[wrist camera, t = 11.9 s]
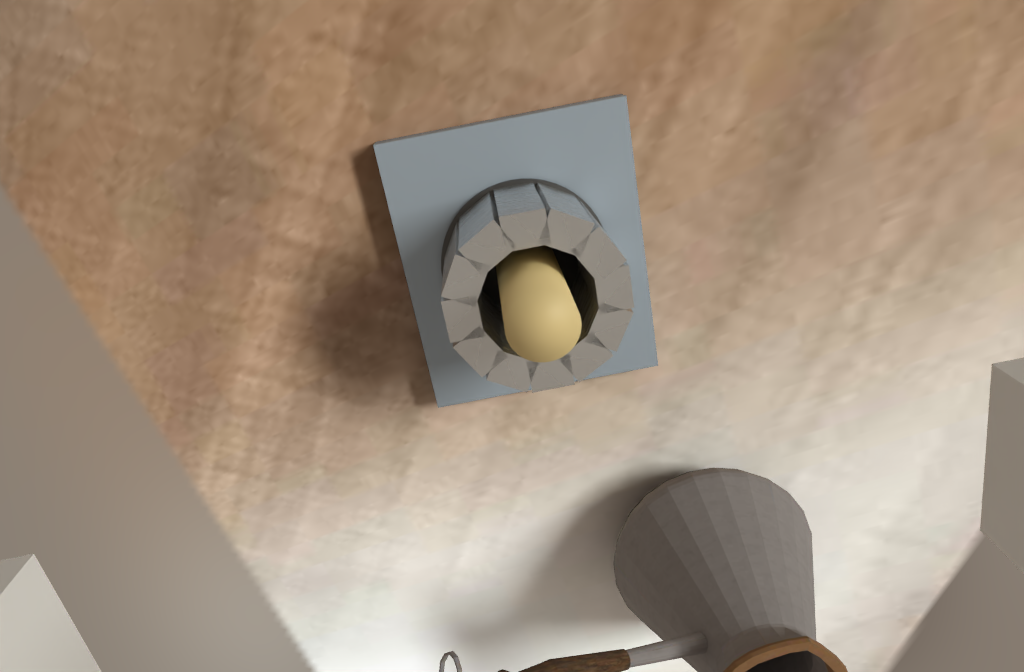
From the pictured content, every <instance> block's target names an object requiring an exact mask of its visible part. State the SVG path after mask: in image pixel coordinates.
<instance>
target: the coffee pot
mask: <svg viewBox="0 0 1024 672" xmlns="http://www.w3.org/2000/svg"><path fill="white" fill-rule="evenodd" d="M614 570H615V577H616V585H617V587H618V589H619V591H620V593H621V595H622V597H623V599H624V601H625V603H626V605H627V606H628V608H629V609H630V610H631V611H632V612H633V613H634V614H635V615H636V616H637V617H638V618H639V619H640V620H641V621H642V622H643V623H645V624H646V625H647V626H648V627H649V628H650V629H651V630H652V631H653V632H654V633H656V634H657V635H658V636H659V637H660V638H661V639H662V640H663V641H661V642H657V643H653V644H649V645H645V646H640V647H636V648H632V649H628V650H624V649H620V650H613V651H606V652H599V653H592V654H584V655H577V656H570V657H563V658H556V659H549V660H547V661H545V662H542V663H540V664H537V665H535V666H532V667H530V668H527V669H524V670H522V671H519V672H621V671H624V670H628V669H629V668H630V667H635V666H640V665H646V664H651V663H656V662H661V661H667V660H672V659H677V658H683V659H684V660H685V661H686V662H687V663H689V664H690V665H691V666H692V667H693V668H694V669H695V670H696V671H697V672H847V669H846V666H845V665H844V664H843V663H842V662H841V661H840V659H839V658H838V657H837V656H836V655H835V654H833V653H832V652H831V651H829V650H828V649H827V648H826V647H824V646H823V645H822V644H820V643H819V642H817V641H816V624H815V601H814V578H813V554H812V533H811V531H810V528H809V525H808V522H807V520H806V517H805V514H804V511H803V510H802V508H801V507H800V506H799V505H798V503H797V502H796V501H795V500H794V498H793V497H792V496H791V495H790V494H789V493H788V492H787V491H785V490H784V489H782V488H781V487H779V486H778V485H776V484H775V483H773V482H772V481H770V480H769V479H766V478H763V477H760V476H757V475H754V474H751V473H748V472H745V471H741V470H738V469H725V468H709V469H704V470H698V471H692V472H688V473H685V474H683V475H680V476H678V477H676V478H673V479H671V480H668V481H666V482H664V483H663V484H662V485H660V486H659V487H657V488H656V489H654V490H653V491H652V492H650V493H649V494H647V495H646V496H645V497H644V498H643V499H642V500H641V502H640V503H639V504H638V505H637V506H636V507H635V508H634V509H633V511H632V512H631V513H630V515H629V517H628V519H627V521H626V523H625V525H624V527H623V529H622V531H621V533H620V535H619V538H618V541H617V546H616V552H615V557H614ZM448 655H450V656H451V657H452V658H453V659H454V662H455V665H456V668H457V672H462V668H461V665H460V662H459V659H458V656H457V655H456V654H455V653H454V652H453V651H451V652H448V653H445V654H444V655H443V657H442V659H441V661H440V670H439V672H444V666H445V661H446V659H447V657H448ZM498 672H508V671H506V670H499V671H498Z"/></svg>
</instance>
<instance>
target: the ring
mask: <svg viewBox="0 0 1024 672" xmlns="http://www.w3.org/2000/svg"><path fill="white" fill-rule="evenodd" d="M493 191H494V196H495V198H494V197H493V196H492V195H491V194H490V192H488V193H487V194H486V195H484V196H483V197H482V198H481V199H480V200H479V201H478V202H476V203H475V204H474V205H473V206H472V207H471V208H470V209H468V210H467V211H466V212H465V213H464V214H463V215H461V216H460V217H459V222H456V224H455V227H454V230H453V233H452V236H451V239H450V242H449V245H448V248H447V251H446V254H445V257H444V268H443V279H442V290H441V305H442V310H443V314H444V318H445V322H446V327H447V331H448V335H449V340H450V343H453V348H454V349H455V350H456V351H457V352H458V353H459V354H460V355H461V357H462V358H463V359H464V360H465V361H466V362H467V363H468V364H469V365H470V366H471V367H472V368H473V369H474V370H475V371H476V372H477V373H478V374H479V375H480V376H481V377H483V376H485V375H486V380H487V381H491V382H494V383H498V384H501V385H504V386H508V387H511V388H514V389H518V390H521V391H524V392H527V391H528V389H529V386H530V384H531V388H532V393H533V392H538V391H543V390H548V389H554V388H559V387H564V386H569V385H574V378H573V376H574V377H575V378H576V379H577V380H578V381H579V382H580V381H582V380H583V379H584V378H586V377H587V376H588V375H589V374H591V373H592V372H593V371H595V370H596V369H597V368H598V367H600V366H601V365H602V364H604V363H605V362H606V361H607V360H609V359H610V358H611V357H613V354H612V352H611V350H613V351H616V352H617V350H618V347H619V345H620V343H621V341H622V338H623V336H624V334H625V331H626V329H627V327H628V325H629V322H630V320H631V318H632V315H633V311H632V309H631V308H634V301H633V293H632V285H631V277H630V269H629V265H628V263H627V262H626V261H627V260H626V259H625V257H624V256H623V255H622V253H621V252H620V251H619V249H618V248H617V247H616V245H615V244H614V243H613V241H612V240H611V239H610V237H609V236H608V234H607V233H606V232H605V230H604V229H603V228H602V226H601V225H600V224H599V223H598V222H597V220H596V219H595V218H594V217H593V216H592V214H591V213H590V212H589V211H588V209H587V208H586V207H585V206H584V205H583V203H582V202H581V201H580V200H579V198H576V197H575V196H574V195H572V194H569V193H567V192H564V191H561V190H558V189H555V188H552V187H549V186H547V185H544V184H541V183H538V182H537V184H536V187H535V186H534V184H533V182H529V183H524V184H519V185H514V186H509V187H504V188H498V189H493ZM542 245H546V246H549V247H552V248H555V249H558V250H561V251H564V252H567V253H570V254H573V255H575V256H576V257H577V261H578V267H579V269H578V271H577V274H576V276H575V279H574V281H573V284H572V286H571V289H570V292H571V294H572V297H573V299H574V301H575V304H576V306H577V308H578V311H579V313H580V317H581V323H582V327H581V334H580V337H579V339H578V341H577V343H576V345H575V346H574V347H573V349H572V350H571V351H570V352H568V353H567V354H566V355H565V356H563V357H561V358H559V359H557V360H554V361H550V362H533V361H529V360H527V359H524V358H523V357H521V356H519V355H518V354H517V353H516V352H515V351H514V350H513V349H512V348H511V347H510V345H509V343H508V341H507V339H506V335H505V329H504V322H503V315H502V308H501V307H499V306H497V304H496V303H495V302H494V301H493V300H492V299H491V298H490V297H489V296H488V295H487V294H486V293H485V291H484V290H483V289H482V286H483V284H484V281H485V278H486V275H487V272H488V271H490V270H491V269H492V268H493V267H494V266H495V265H497V264H498V263H499V262H500V261H501V260H503V259H504V258H505V257H506V256H507V255H508V254H510V253H511V252H512V251H516V250H522V249H527V248H532V247H537V246H542Z"/></svg>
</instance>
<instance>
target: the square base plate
mask: <svg viewBox="0 0 1024 672" xmlns="http://www.w3.org/2000/svg"><path fill="white" fill-rule="evenodd" d="M373 147H374V151H375V155H376V159H377V163H378V167H379V171H380V175H381V179H382V183H383V187H384V191H385V195H386V199H387V203H388V207H389V211H390V215H391V219H392V223H393V227H394V232H395V236H396V240H397V244H398V248H399V252H400V256H401V260H402V264H403V268H404V272H405V276H406V280H407V284H408V288H409V292H410V296H411V300H412V304H413V308H414V312H415V316H416V320H417V324H418V328H419V332H420V336H421V340H422V345H423V349H424V353H425V357H426V361H427V365H428V369H429V373H430V377H431V381H432V385H433V389H434V393H435V397H436V401H437V405H438V408H439V407H444V406H449V405H454V404H460V403H465V402H470V401H475V400H481V399H486V398H491V397H496V396H501V395H507V394H512V393H517V392H522V391H521V390H518V389H514V388H511V387H508V386H504V385H501V384H498V383H494V382H491V381H487V380H486V375H485V376H483V377H481V376H480V375H479V374H478V373H477V372H476V371H475V370H474V369H473V368H472V367H471V366H470V365H469V364H468V363H467V362H466V361H465V360H464V359H463V358H462V357H461V355H460V354H459V353H458V352H457V351H456V350H455V349H454V348H453V343H450V340H449V335H448V331H447V327H446V322H445V318H444V314H443V310H442V305H441V290H442V279H443V268H444V257H445V254H446V251H447V248H448V245H449V242H450V239H451V236H452V233H453V230H454V227H455V224H456V222H459V217H460V216H461V215H463V214H464V213H465V212H466V211H467V210H468V209H470V208H471V207H472V206H473V205H474V204H475V203H476V202H478V201H479V200H480V199H481V198H482V197H483V196H484V195H486V194H487V193H488V192H490V194H491V195H492V196H493V197H494V198H495V196H494V191H493V189H498V188H504V187H509V186H514V185H519V184H524V183H529V182H533V184H534V186H535V187H536V184H537V182H538V183H541V184H544V185H547V186H549V187H552V188H555V189H558V190H561V191H564V192H567V193H569V194H572V195H574V196H575V197H576V198H579V200H580V201H581V202H582V203H583V205H584V206H585V207H586V208H587V209H588V211H589V212H590V213H591V214H592V216H593V217H594V218H595V219H596V220H597V222H598V223H599V224H600V225H601V226H602V228H603V229H604V230H605V232H606V233H607V234H608V236H609V237H610V239H611V240H612V241H613V243H614V244H615V245H616V247H617V248H618V249H619V251H620V252H621V253H622V255H623V256H624V257H625V259H626V260H627V261H626V262H627V263H628V265H629V269H630V277H631V285H632V293H633V301H634V308H631V309H632V311H633V315H632V318H631V320H630V322H629V325H628V327H627V329H626V331H625V334H624V336H623V338H622V341H621V343H620V345H619V347H618V350H617V352H616V351H613V350H611V352H612V354H613V357H611V358H610V359H609V360H607V361H606V362H605V363H604V364H602V365H601V366H600V367H598V368H597V369H596V370H595V371H593V372H592V373H591V374H589V375H588V376H587V377H586V378H584V379H583V380H585V379H590V378H595V377H601V376H606V375H611V374H616V373H622V372H627V371H632V370H637V369H642V368H648V367H653V366H658V360H657V352H656V343H655V335H654V326H653V318H652V310H651V301H650V293H649V284H648V276H647V267H646V259H645V250H644V242H643V234H642V225H641V217H640V208H639V200H638V191H637V183H636V174H635V166H634V157H633V149H632V141H631V132H630V124H629V115H628V107H627V98H626V95H623V94H618V95H613V96H608V97H603V98H598V99H593V100H588V101H583V102H577V103H572V104H567V105H562V106H557V107H552V108H547V109H542V110H537V111H532V112H526V113H521V114H516V115H511V116H506V117H501V118H496V119H491V120H486V121H480V122H475V123H470V124H465V125H460V126H455V127H450V128H445V129H440V130H435V131H429V132H424V133H419V134H414V135H409V136H404V137H399V138H394V139H389V140H383V141H378V142H375V144H374V145H373ZM578 269H579V267H578V261H577V257H576V256H575V255H573V254H570V253H567V252H564V251H561V250H558V249H555V248H552V247H549V246H546V245H542V246H537V247H532V248H527V249H522V250H516V251H512V252H511V253H510V254H508V255H507V256H506V257H505V258H504V259H503V260H501V261H500V262H499V263H498V264H497V265H495V266H494V267H493V268H492V269H491V270H490V271H488V272H487V275H486V278H485V281H484V284H483V286H482V289H483V290H484V291H485V293H486V294H487V295H488V296H489V297H490V298H491V299H492V300H493V301H494V302H495V303H496V304H497V306H499V307H501V308H502V315H503V322H504V329H505V335H506V339H507V341H508V343H509V345H510V347H511V348H512V349H513V350H514V351H515V352H516V353H517V354H518V355H519V356H521V357H523V358H524V359H527V360H529V361H533V362H550V361H554V360H557V359H559V358H561V357H563V356H565V355H566V354H567V353H568V352H570V351H571V350H572V349H573V347H574V346H575V345H576V343H577V341H578V339H579V337H580V334H581V327H582V323H581V317H580V313H579V311H578V308H577V306H576V304H575V301H574V299H573V297H572V294H571V292H570V289H571V286H572V284H573V281H574V279H575V276H576V274H577V271H578ZM573 378H574V382H575V381H578V380H577V379H576V378H575V377H574V376H573ZM528 390H532V388H531V384H530V386H529V389H528Z"/></svg>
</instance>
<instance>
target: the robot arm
mask: <svg viewBox="0 0 1024 672" xmlns="http://www.w3.org/2000/svg"><path fill="white" fill-rule="evenodd" d="M980 531H981V532H982V533H983V534H984V535H985V536H986V537H987V538H988V539H989V540H990V541H992V543H993V544H994V545H995V546H996V547H998V548H999V549H1000V550H1001V552H1002V553H1004V555H1005V556H1006V557H1007V558H1008V559H1009V560H1010V561H1011V562H1013V564H1014V565H1015V566H1016V567H1017V568H1018V569H1019V570H1020V571H1021V572H1022V573H1023V574H1024V358H1020V359H1015V360H1010V361H1005V362H1000V363H995V364H992V371H991V385H990V400H989V414H988V428H987V442H986V456H985V470H984V484H983V498H982V513H981V527H980ZM0 672H101V670H100V669H99V667H98V665H97V663H96V662H95V660H94V658H93V657H92V655H91V653H90V651H89V649H88V648H87V646H86V644H85V642H84V641H83V639H82V637H81V636H80V634H79V632H78V631H77V629H76V627H75V625H74V623H73V622H72V620H71V618H70V616H69V615H68V613H67V611H66V609H65V608H64V606H63V604H62V602H61V601H60V599H59V597H58V595H57V594H56V592H55V590H54V588H53V587H52V585H51V583H50V581H49V580H48V578H47V576H46V575H45V573H44V571H43V569H42V567H41V566H40V564H39V562H38V561H37V559H36V557H35V555H34V554H30V555H25V556H20V557H15V558H10V559H5V560H0Z"/></svg>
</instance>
